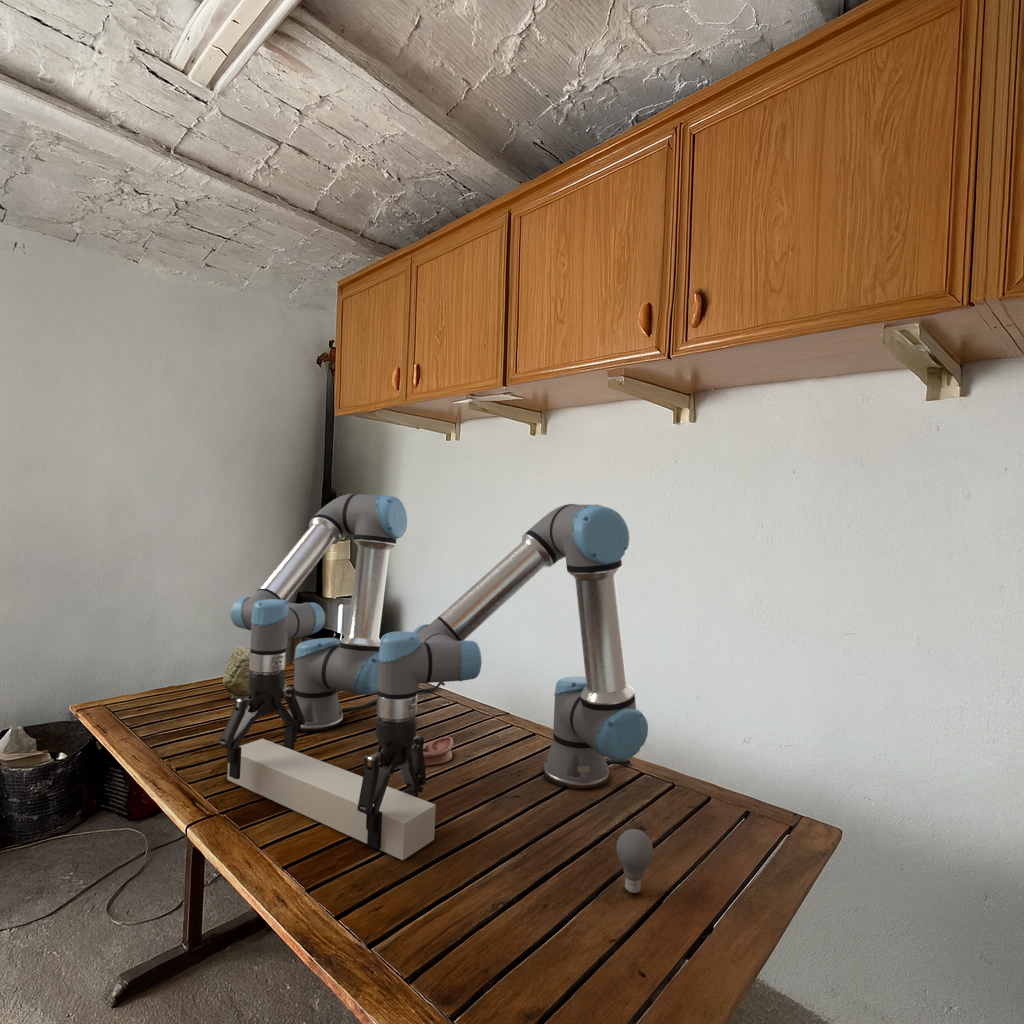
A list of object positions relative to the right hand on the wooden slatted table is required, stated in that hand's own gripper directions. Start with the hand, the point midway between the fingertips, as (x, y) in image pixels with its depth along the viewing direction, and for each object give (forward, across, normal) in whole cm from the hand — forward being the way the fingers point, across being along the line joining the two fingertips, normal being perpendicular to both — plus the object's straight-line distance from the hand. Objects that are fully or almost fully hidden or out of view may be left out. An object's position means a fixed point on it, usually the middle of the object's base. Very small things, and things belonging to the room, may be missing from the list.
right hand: (391, 835), depth 119 cm
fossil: (0, +35, +92) cm, 98 cm away
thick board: (0, 0, +19) cm, 19 cm away
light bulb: (0, +12, -43) cm, 45 cm away
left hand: (-3, 0, +38) cm, 38 cm away
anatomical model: (0, +32, +19) cm, 37 cm away
